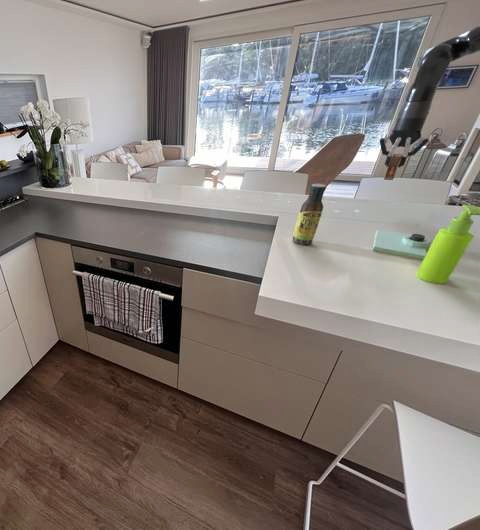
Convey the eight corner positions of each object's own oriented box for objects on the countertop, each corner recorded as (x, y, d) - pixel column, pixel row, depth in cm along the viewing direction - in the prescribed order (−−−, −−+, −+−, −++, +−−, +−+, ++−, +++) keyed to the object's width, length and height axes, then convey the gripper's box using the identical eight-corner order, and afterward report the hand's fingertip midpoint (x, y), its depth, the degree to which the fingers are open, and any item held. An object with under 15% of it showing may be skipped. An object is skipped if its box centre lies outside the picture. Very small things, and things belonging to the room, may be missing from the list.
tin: (387, 173, 116) (392, 151, 112) (397, 173, 114) (403, 151, 110) (382, 182, 107) (388, 158, 103) (393, 182, 105) (400, 158, 101)
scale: (424, 240, 94) (428, 232, 93) (426, 260, 84) (431, 251, 82) (375, 232, 101) (379, 224, 100) (372, 250, 91) (376, 242, 90)
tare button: (422, 239, 89) (425, 235, 89) (423, 243, 88) (425, 238, 87) (409, 237, 91) (411, 233, 90) (409, 241, 89) (412, 236, 89)
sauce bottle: (293, 245, 98) (308, 187, 88) (289, 237, 103) (303, 182, 93) (315, 246, 96) (332, 187, 86) (310, 238, 101) (326, 182, 91)
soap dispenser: (419, 282, 76) (458, 210, 65) (413, 269, 80) (449, 201, 70) (450, 287, 73) (496, 213, 63) (443, 274, 78) (484, 203, 68)
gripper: (440, 113, 98) (418, 165, 107) (386, 115, 106) (370, 163, 115) (441, 116, 93) (418, 170, 102) (385, 117, 102) (368, 167, 110)
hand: (393, 166), depth 108 cm, fingers closed on tin, 3 cm apart
